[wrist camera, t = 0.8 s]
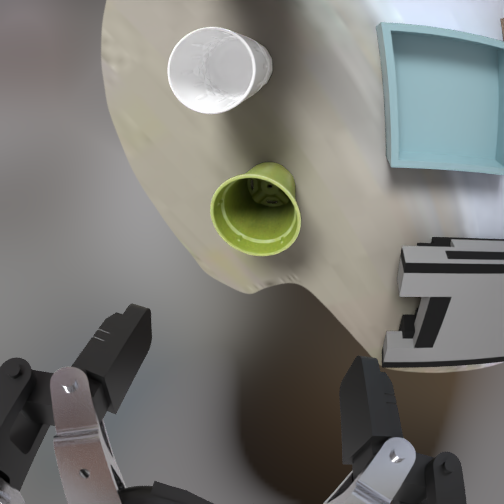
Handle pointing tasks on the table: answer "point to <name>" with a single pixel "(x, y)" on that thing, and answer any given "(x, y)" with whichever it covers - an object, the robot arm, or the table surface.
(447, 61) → the parts tray
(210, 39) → the white cup
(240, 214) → the plant pot
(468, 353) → the game console
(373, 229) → the table surface
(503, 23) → the brown square frame
